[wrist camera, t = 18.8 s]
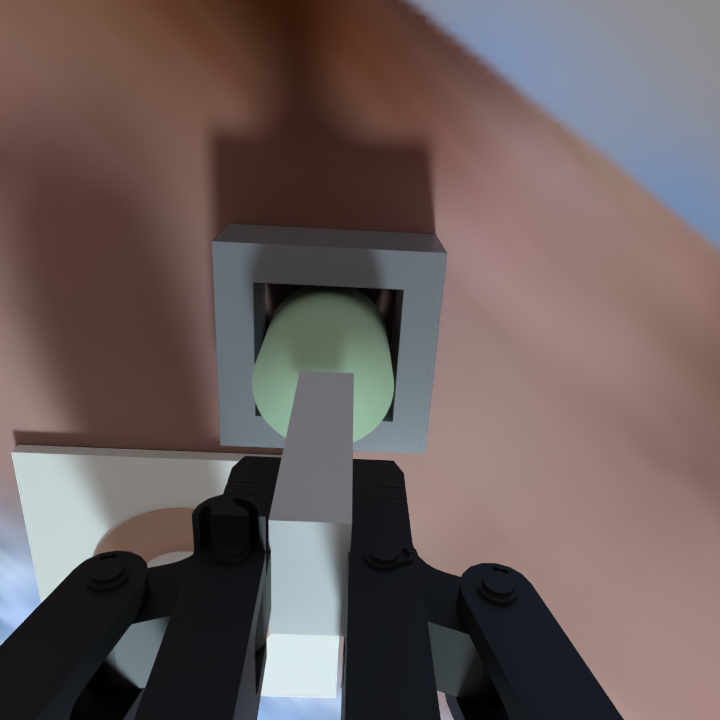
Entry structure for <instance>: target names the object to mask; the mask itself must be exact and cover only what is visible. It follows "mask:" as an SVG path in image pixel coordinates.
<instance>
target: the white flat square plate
mask: <svg viewBox="0 0 720 720" xmlns="http://www.w3.org/2000/svg"><path fill="white" fill-rule="evenodd" d="M11 454H12V459H13V464H14V469H15V474H16V479H17V484H18V489H19V494H20V499H21V504H22V509H23V514H24V519H25V524H26V529H27V534H28V539H29V544H30V549H31V554H32V559H33V564H34V569H35V575H36V580H37V585H38V590H39V595H40V600H41V603H42V602H43V601H44V600H45V599H46V598H47V597H48V596H49V595H50V594H51V593H52V592H53V590H54V589H55V588H56V587H57V586H58V585H59V584H60V583H61V582H62V581H63V580H64V579H65V578H66V577H67V576H68V575H69V574H70V573H71V572H72V571H73V570H74V569H75V568H76V567H77V566H78V565H80V564H81V563H82V562H84V561H85V560H86V559H89V558H91V557H93V556H96V555H98V554H100V553H105V552H110V551H130V552H132V553H135V554H137V555H140V556H141V557H142V558H143V559H144V560H145V562H148V561H149V560H151V559H153V558H155V557H157V556H159V555H162V554H165V553H169V552H174V551H194V542H193V527H192V513H193V511H194V510H195V508H196V507H197V506H198V505H199V504H201V503H202V502H204V501H205V500H207V499H209V498H212V497H215V496H218V495H221V494H223V492H224V490H225V487H226V484H227V481H228V478H229V475H230V472H231V469H232V467H233V466H234V465H235V464H236V463H238V462H239V461H240V460H241V459H242V458H243V457H244V456H260V457H282V455H265V454H240V453H215V452H189V451H164V450H139V449H114V448H89V447H64V446H39V445H18V446H17V447H16V448H15V449H14V450H13V451H12V452H11ZM338 645H339V636H325V635H297V634H269V626H268V632H267V659H266V665H265V671H264V678H263V684H262V690H261V696H277V697H313V698H336V683H337V664H338Z"/></svg>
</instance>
